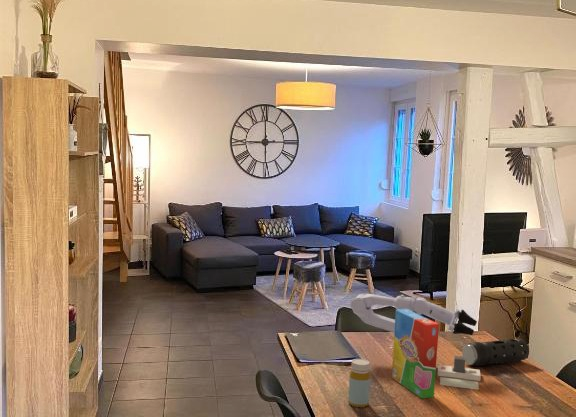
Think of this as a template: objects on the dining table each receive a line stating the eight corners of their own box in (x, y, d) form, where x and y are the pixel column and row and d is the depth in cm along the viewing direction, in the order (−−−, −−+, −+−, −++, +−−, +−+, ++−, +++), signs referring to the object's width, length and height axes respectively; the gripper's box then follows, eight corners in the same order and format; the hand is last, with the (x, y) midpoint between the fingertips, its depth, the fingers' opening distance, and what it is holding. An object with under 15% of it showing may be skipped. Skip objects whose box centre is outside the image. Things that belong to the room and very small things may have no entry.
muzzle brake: (528, 365, 255) (530, 341, 254) (475, 372, 245) (476, 347, 244) (512, 358, 264) (514, 334, 263) (460, 364, 254) (461, 340, 253)
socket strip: (437, 376, 238) (438, 370, 237) (437, 370, 244) (438, 364, 244) (480, 382, 234) (480, 375, 233) (479, 375, 240) (479, 369, 240)
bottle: (346, 399, 212) (348, 358, 211) (366, 399, 213) (368, 358, 211) (350, 408, 205) (352, 365, 204) (370, 408, 206) (373, 365, 204)
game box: (391, 378, 234) (394, 309, 232) (403, 376, 236) (407, 308, 234) (422, 399, 215) (426, 324, 213) (434, 397, 217) (439, 323, 215)
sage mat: (439, 385, 228) (440, 384, 228) (440, 378, 236) (440, 377, 236) (478, 391, 225) (478, 389, 225) (477, 383, 232) (477, 381, 232)
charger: (453, 376, 237) (454, 358, 237) (453, 372, 241) (454, 355, 241) (464, 377, 236) (465, 360, 236) (463, 374, 240) (464, 356, 240)
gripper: (441, 314, 238) (475, 328, 234) (448, 298, 250) (480, 311, 246) (435, 329, 241) (469, 343, 237) (443, 312, 253) (474, 325, 249)
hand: (474, 328), depth 242 cm, fingers open, 7 cm apart
